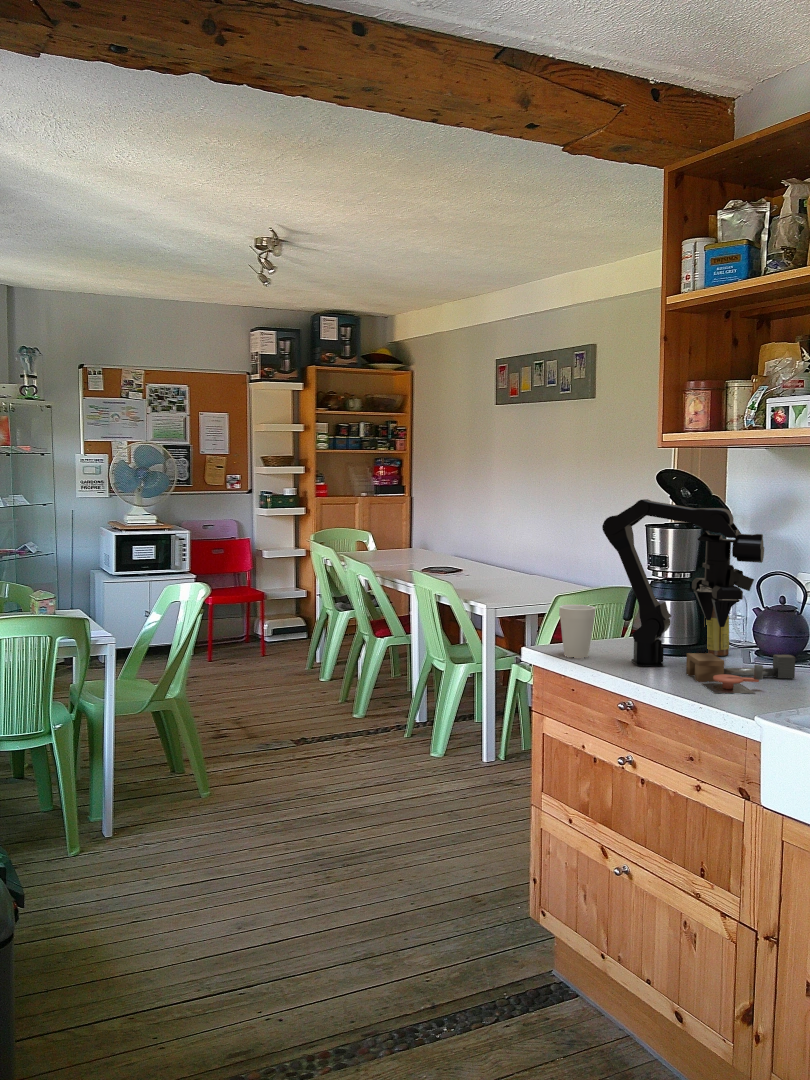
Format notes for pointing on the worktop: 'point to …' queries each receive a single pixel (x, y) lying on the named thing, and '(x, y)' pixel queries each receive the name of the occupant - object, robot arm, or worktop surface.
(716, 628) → the sauce bottle
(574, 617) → the foam cup
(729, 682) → the handwheel
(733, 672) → the bolt
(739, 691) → the brown square plate
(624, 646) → the worktop surface
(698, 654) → the eye block
